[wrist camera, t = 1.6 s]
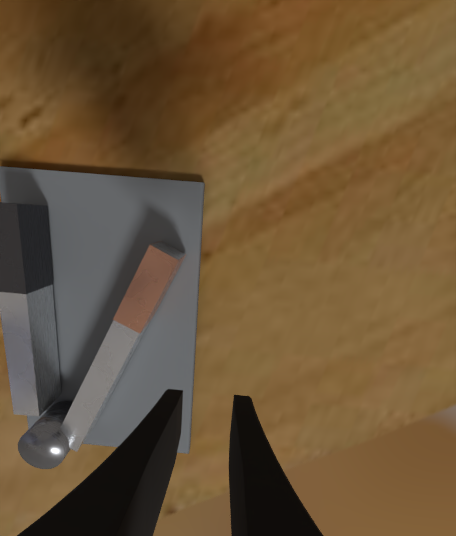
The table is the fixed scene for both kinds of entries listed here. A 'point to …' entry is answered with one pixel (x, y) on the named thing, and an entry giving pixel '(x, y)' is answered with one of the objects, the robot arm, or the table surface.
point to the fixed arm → (28, 307)
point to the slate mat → (118, 283)
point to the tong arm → (103, 363)
